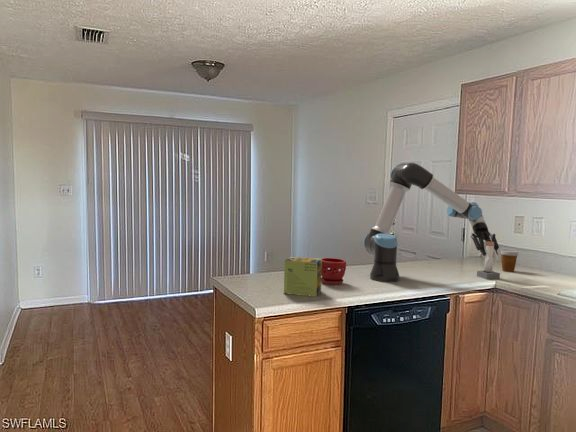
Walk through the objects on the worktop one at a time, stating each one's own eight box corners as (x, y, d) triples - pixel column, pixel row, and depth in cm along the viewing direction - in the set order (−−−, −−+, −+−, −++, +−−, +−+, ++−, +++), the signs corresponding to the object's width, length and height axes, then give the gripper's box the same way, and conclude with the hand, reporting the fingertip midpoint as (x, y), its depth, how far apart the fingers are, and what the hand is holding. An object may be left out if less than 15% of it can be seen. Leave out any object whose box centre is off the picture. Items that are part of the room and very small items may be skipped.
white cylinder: (487, 272, 235) (489, 242, 234) (482, 270, 239) (484, 241, 238) (494, 271, 236) (495, 242, 235) (489, 270, 240) (490, 241, 239)
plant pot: (335, 287, 213) (336, 263, 212) (314, 283, 222) (314, 259, 221) (350, 283, 223) (351, 259, 222) (329, 279, 232) (329, 256, 231)
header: (486, 281, 233) (487, 273, 233) (476, 277, 241) (477, 270, 241) (499, 280, 235) (500, 273, 235) (489, 277, 243) (489, 270, 243)
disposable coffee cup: (501, 272, 259) (502, 251, 258) (497, 268, 268) (498, 249, 267) (519, 273, 257) (520, 252, 256) (514, 270, 266) (516, 250, 265)
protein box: (316, 297, 195) (317, 262, 194) (283, 294, 199) (284, 260, 198) (321, 291, 205) (322, 258, 204) (289, 288, 209) (290, 256, 208)
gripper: (490, 230, 252) (505, 264, 237) (462, 229, 251) (474, 264, 236) (496, 221, 246) (511, 256, 231) (466, 221, 245) (479, 255, 230)
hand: (492, 260), depth 233 cm, fingers closed on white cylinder, 4 cm apart
